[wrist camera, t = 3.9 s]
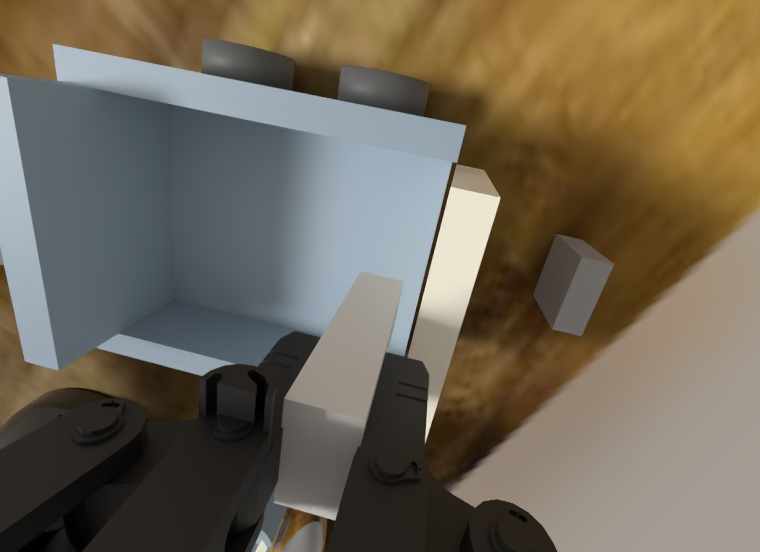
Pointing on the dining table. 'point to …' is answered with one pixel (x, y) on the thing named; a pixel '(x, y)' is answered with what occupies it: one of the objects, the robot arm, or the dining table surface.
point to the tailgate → (453, 275)
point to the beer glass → (290, 530)
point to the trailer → (224, 206)
